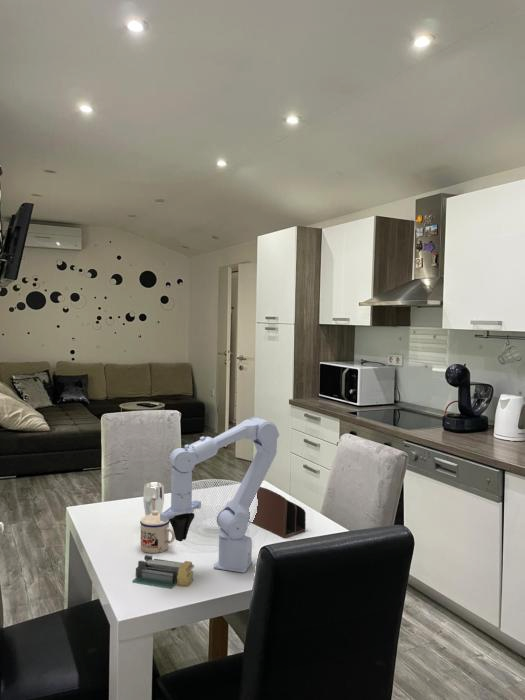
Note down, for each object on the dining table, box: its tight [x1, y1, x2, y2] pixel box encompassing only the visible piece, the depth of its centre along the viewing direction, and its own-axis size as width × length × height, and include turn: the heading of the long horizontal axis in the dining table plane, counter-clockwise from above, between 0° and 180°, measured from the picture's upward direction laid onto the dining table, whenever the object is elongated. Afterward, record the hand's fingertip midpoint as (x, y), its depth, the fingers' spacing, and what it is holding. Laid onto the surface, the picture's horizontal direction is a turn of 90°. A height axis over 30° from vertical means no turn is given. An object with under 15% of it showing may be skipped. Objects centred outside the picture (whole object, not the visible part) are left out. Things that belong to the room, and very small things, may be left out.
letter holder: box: [251, 486, 307, 539], centre depth 194 cm, size 10×20×14 cm, turn 40°
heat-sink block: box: [132, 558, 182, 589], centre depth 155 cm, size 12×11×3 cm
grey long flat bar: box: [143, 558, 195, 571], centre depth 154 cm, size 15×2×1 cm, turn 75°
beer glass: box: [142, 481, 165, 516], centre depth 190 cm, size 7×7×15 cm
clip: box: [176, 560, 194, 587], centre depth 152 cm, size 3×5×5 cm, turn 165°
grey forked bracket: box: [135, 554, 153, 578], centre depth 156 cm, size 3×5×4 cm, turn 165°
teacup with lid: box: [139, 510, 176, 554], centre depth 173 cm, size 12×9×12 cm
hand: (180, 539), depth 156 cm, fingers closed
